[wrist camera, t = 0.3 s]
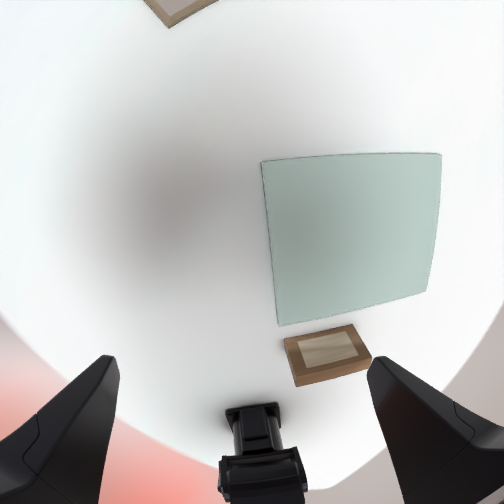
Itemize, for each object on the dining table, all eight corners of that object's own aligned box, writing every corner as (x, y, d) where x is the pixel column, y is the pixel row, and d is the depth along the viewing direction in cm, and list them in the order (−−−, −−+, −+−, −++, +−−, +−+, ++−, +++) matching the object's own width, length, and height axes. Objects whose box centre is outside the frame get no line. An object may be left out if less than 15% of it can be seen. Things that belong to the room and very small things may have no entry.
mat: (422, 288, 26) (425, 291, 25) (277, 322, 25) (278, 326, 24) (437, 153, 20) (441, 154, 19) (261, 161, 19) (262, 163, 18)
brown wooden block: (350, 334, 27) (369, 368, 22) (284, 349, 27) (296, 387, 22) (352, 322, 26) (372, 356, 22) (284, 337, 26) (295, 376, 21)
